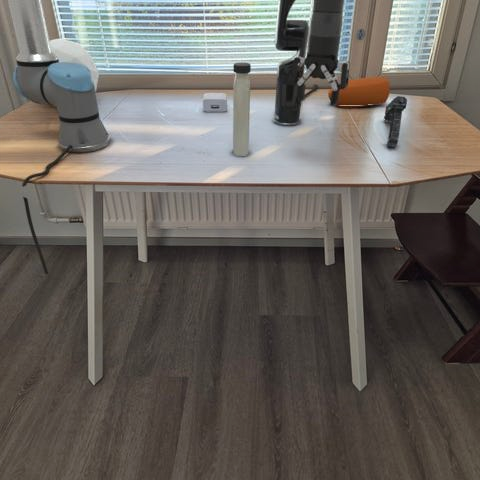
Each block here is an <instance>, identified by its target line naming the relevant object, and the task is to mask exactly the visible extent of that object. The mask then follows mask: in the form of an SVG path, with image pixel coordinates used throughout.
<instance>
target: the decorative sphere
mask: <svg viewBox="0 0 480 480" xmlns="http://www.w3.org/2000/svg"><path fill="white" fill-rule="evenodd" d="M49 41H50V47H51V51H52V52H53V53H54V54H55V55H56V56H57V57H58V60H59V62H69V63H78V64H81V65H84V66H86V67H87V68H88V69H89V70H90V72H91V75H92V79H93V81H94V87H95V93H96V92H97V91H98V82H99V76H100V72H99V70H98V67H97V66H96V63H95V61H94V59H93V57H92V55H91V54H90V53H89V51H87V50H86V49H85V48H84V47H83V46H82V45H81V43H79V42H76V41H72V40H69V39H64V38H61V37H60V38H55V39H51V40H50V39H49Z"/></svg>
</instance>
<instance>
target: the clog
mask: <svg viewBox="0 0 480 480" xmlns="http://www.w3.org/2000/svg"><path fill="white" fill-rule="evenodd" d="M339 83H340V84H341V81H340V82H339ZM332 90H333V89H332V88H330V90H328V91H327V95H328V96H327V97H328V100H329V101H331V94H332ZM390 93H391V85H390V80H389V78H387V77H385V76H368V77H359V78H355V79H349V80H348V86H347V87H346V88H344V89H341V90H340V91H339V97H338V101H337V103H336V105H335V106H337V107H340V108H343V109H344V108H345V109H348V108H359V107H361V108H362V106H339V105H368V104H377V105H383V104H385V103H387V101H388V98H389V96H390ZM382 103H383V104H382Z"/></svg>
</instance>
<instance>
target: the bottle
mask: <svg viewBox="0 0 480 480" xmlns="http://www.w3.org/2000/svg"><path fill="white" fill-rule="evenodd" d="M250 81H251V80H250V76H249V73H245V74H240V73H235V76H234V81H233V86H232V90H233V91H232V154H233V156H236V157H247V156H248V155H249V154H250V153H249V149H250V118H251V117H250V112H251V83H250Z"/></svg>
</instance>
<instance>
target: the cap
mask: <svg viewBox="0 0 480 480" xmlns="http://www.w3.org/2000/svg"><path fill="white" fill-rule="evenodd" d="M251 65H252V63H249V62H243V61H242V62H241V61H240V62H234V63H233V73H235V74H236V73H240V74H245V73H248V74H250V73H251V71H252V66H251Z"/></svg>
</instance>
